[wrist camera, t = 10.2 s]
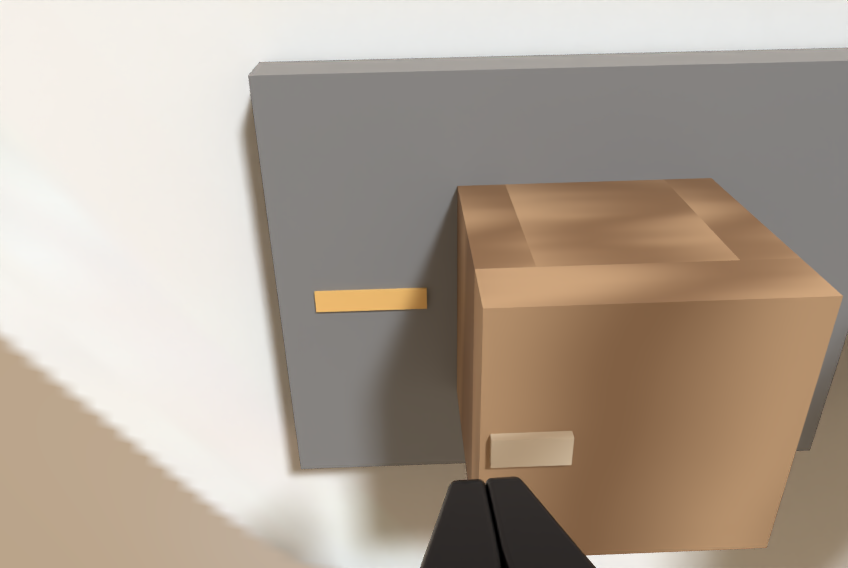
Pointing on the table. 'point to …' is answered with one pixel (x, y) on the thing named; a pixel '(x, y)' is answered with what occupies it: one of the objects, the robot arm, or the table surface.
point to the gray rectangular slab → (497, 165)
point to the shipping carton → (636, 358)
